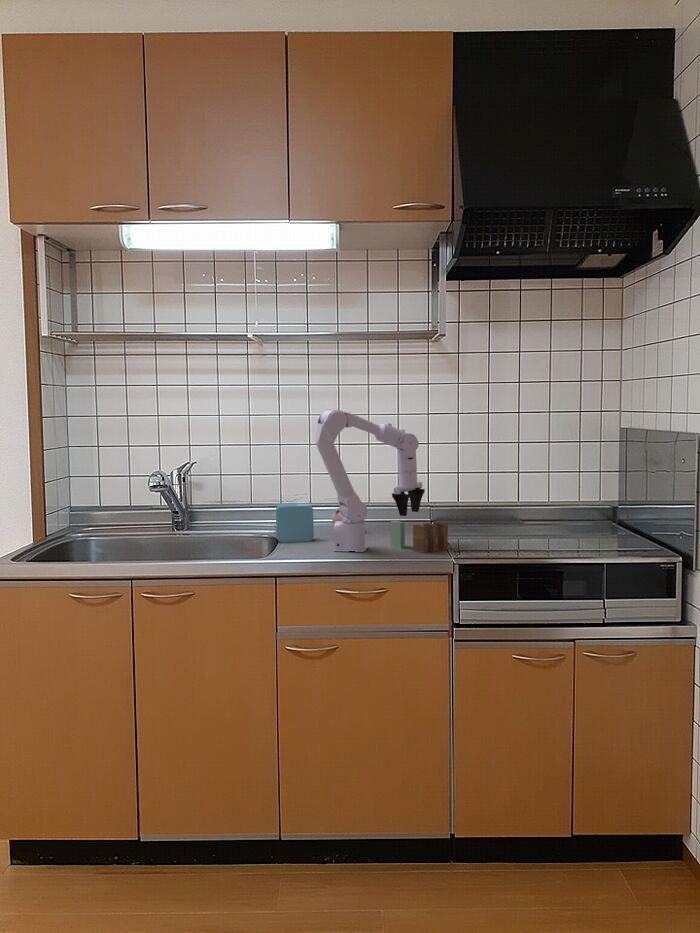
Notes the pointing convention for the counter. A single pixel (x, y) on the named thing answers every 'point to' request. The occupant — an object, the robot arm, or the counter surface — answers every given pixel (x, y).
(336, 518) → the decorative fruit
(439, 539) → the walnut domino
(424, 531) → the walnut domino
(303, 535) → the blue square slab
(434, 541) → the walnut domino
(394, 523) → the green domino
